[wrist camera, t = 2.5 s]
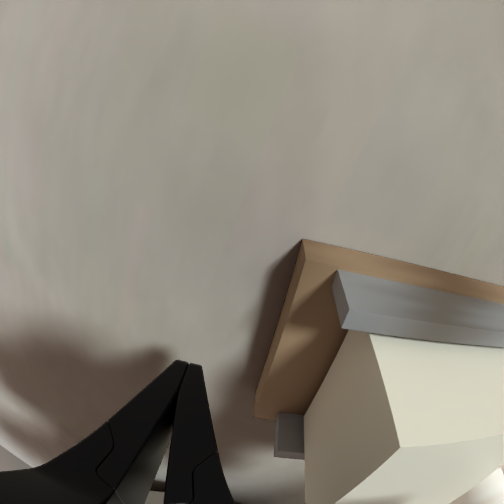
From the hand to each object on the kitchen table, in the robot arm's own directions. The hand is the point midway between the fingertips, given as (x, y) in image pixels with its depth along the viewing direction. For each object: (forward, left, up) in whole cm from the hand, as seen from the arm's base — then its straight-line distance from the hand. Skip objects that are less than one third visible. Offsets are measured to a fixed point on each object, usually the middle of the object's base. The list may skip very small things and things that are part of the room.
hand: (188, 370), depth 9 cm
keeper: (-8, 0, -1) cm, 8 cm away
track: (-15, 0, -3) cm, 15 cm away
